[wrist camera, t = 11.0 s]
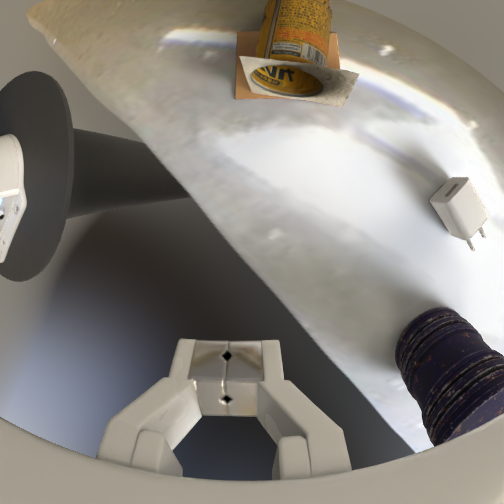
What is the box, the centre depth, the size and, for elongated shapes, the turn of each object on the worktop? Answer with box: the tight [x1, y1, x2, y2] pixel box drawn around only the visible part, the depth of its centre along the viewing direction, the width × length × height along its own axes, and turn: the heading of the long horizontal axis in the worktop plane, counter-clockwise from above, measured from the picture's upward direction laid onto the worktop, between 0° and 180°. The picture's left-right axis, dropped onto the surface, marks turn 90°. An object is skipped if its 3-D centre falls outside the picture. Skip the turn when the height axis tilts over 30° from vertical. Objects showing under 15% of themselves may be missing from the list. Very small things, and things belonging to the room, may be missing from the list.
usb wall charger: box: [430, 177, 488, 251], centre depth 22 cm, size 4×7×4 cm, turn 44°
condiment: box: [239, 0, 359, 108], centre depth 18 cm, size 7×8×12 cm
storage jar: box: [395, 307, 504, 447], centre depth 20 cm, size 10×10×15 cm
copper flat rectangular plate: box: [235, 31, 340, 99], centre depth 22 cm, size 8×10×1 cm
